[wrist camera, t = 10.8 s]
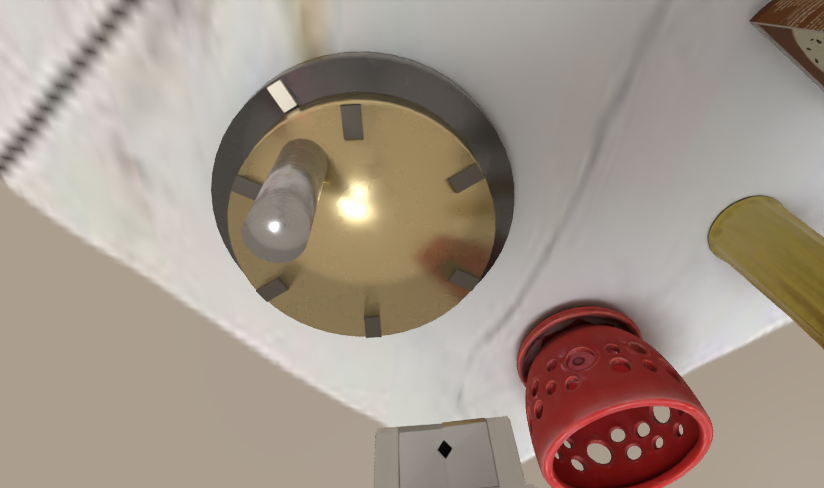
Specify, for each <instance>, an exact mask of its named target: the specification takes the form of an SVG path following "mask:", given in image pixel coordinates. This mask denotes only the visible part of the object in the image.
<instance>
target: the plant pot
mask: <svg viewBox="0 0 824 488" xmlns="http://www.w3.org/2000/svg"><path fill="white" fill-rule="evenodd" d="M517 370H518V374H519V377H520V379H521V381H522V383H523V384H524V385H525V387H526V400H525V401H526V414H527V421H528V426H529V431H530V436H531V440H532V444H533V447H534V451H535V454H536V458H537V461H538V464H539V467H540V469H541V472H542V475H543V477H544V478H545V480H546V481H547V483H548V484H549V485H550V486H551V487H552V488H663V487H665V486H667V485H668V484H671V483H672V482H674V481H676V480H678V479H679V478H681V477H682V476H684V475H685V474H686V473H688V472H689V471H690V470H691V469H692V468H694V467H695V466H696V465H697V464H698V463H699V462H700V460H701V459H702V458H703V457H704V455H705V454H706V452H707V451H708V449H709V447H710V445H711V442H712V438H713V427H712V423H711V420H710V418H709V416H708V415H707V413H706V411H705V410H704V408H703V407H702V405H701V404H700V402H699V400H698V399H697V398H696V396H695V395H694V394H693V392H692V391H691V389H690V388H689V386H688V385H687V384H686V382H685V381H684V380H683V378H682V377H681V376H680V375H679V374H678V372H677V371H676V370H675V369H674V368H673V367H672V366H671V365H670V364H669V362H668V361H667V360H666V359H665V358H664V357H663V356H662V355H661V354H660V353H659V352H657V351H656V350H655V349H654V348H653V347H651V346H650V345H649V344H648V343H646V342H645V341H643V340H642V336H641V333H640V331H639V329H638V327H637V326H636V325H635V323H634V322H633V321H632V320H631V319H629V318H628V317H627V316H625V315H624V314H622V313H620V312H617V311H615V310H612V309H608V308H604V307H578V308H572V309H568V310H565V311H562V312H559V313H556V314H554V315H552V316H550V317H549V318H547V319H545V320H544V321H543V322H541V323H540V324H539V325H537V326H536V327H535V328H534V329H533V330H532V331H531V332H530V333H529V335H528V336H527V337H526V339H525V340H524V342H523V343H522V345H521V347H520V350H519V353H518V357H517ZM653 406H665V407H669V409H670V418H669V420H668V421H667V422H666V423H660V422H659V421H658V420H657V419H656V418H655V416H654V412H653ZM641 423H647V424H648V425H649V427H650V433H649V434H648V435H647V436H645V437H641V436H640V435H639V434H638V432H637V429H638V426H639V425H640V424H641ZM680 424H681V425H682V427H683V434H682V435H681V434H680V433H679V425H680ZM617 428H618V429H622V430H623V431H624V432H625V435H626V436H625V439H624V440H623V441H621V442H614V441H613V440H612V439H611V432H612V431H613V430H614V429H617ZM659 437H661V438H662V439H663V446H662V447H661V448H657V447H656V440H657V439H658V438H659ZM565 440H566V441H568V442H569V444H570V445H571V448H567V447H566V446H565V445H564V443H563V442H564V441H565ZM591 443H598V444H602V445H604V446H605V447H607V448H608V449H609V451H610V453H611V460H610V462H609V463H607V464H600V463H597V462H595V461H594V460H592V459H591V458H590V457H589V456H588V454H587V447H588V445H590V444H591ZM631 446H638V447H640V448H641V451H642V453H641V456H640V457H639V458H638V459H636V460H632V459H630V458H629V457H628V455H627V450H628V449H629V447H631ZM556 452H557V453H558V455H559V459H557V458H556V457H555V454H556ZM571 459H575V460H578V461H579V462H580V463H581V464H582V465H583V468H584V470H583V471H580V470H577V469H575V468H574V466H573V465H572V463H571Z"/></svg>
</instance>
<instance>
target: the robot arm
mask: <svg viewBox="0 0 824 488" xmlns="http://www.w3.org/2000/svg"><path fill="white" fill-rule="evenodd" d="M374 464H375V465H374V488H536V487H535V486H534V485H533V484H526V482H525V478H524V474H523V470H522V466H521V462H520V458H519V454H518V450H517V446H516V442H515V438H514V434H513V430H512V426H511V422H510V420H509V418H508V417H507V416H502V417H494V418H486V419H485V418H479V419H470V420H461V421H453V422H444V423H442V424H430V425H417V426H404V427H391V428H381V429H377V431H376V436H375V462H374Z"/></svg>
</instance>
